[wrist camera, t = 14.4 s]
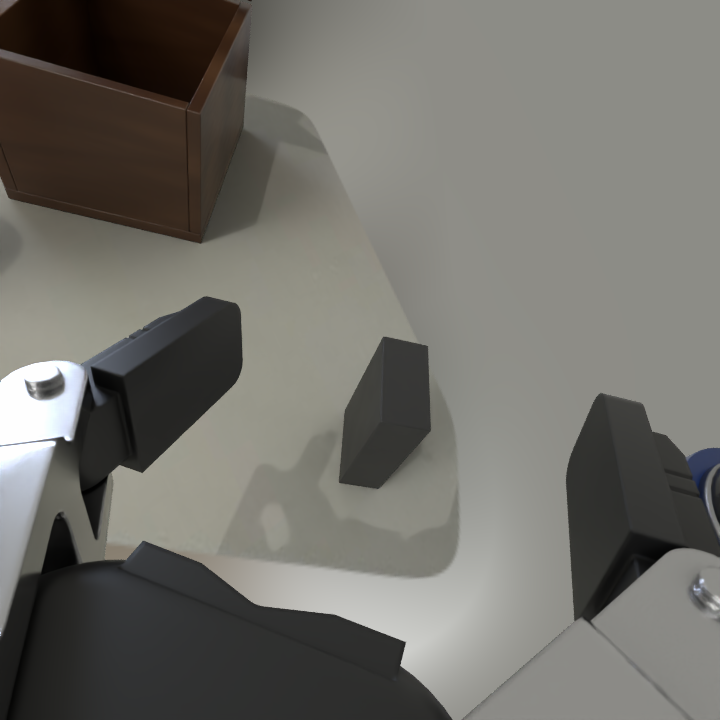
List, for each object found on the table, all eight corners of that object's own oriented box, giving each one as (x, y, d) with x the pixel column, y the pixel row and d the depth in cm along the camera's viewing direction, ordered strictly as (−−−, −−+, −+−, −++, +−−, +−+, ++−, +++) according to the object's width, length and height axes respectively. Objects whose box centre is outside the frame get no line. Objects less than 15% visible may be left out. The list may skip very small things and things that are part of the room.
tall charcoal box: (381, 412, 31) (428, 340, 24) (378, 489, 28) (431, 431, 21) (344, 405, 30) (383, 330, 24) (338, 483, 27) (380, 422, 21)
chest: (200, 243, 34) (200, 113, 27) (8, 198, 32) (-54, 41, 24) (243, 126, 43) (252, 4, 36) (94, 84, 41) (69, -57, 33)
